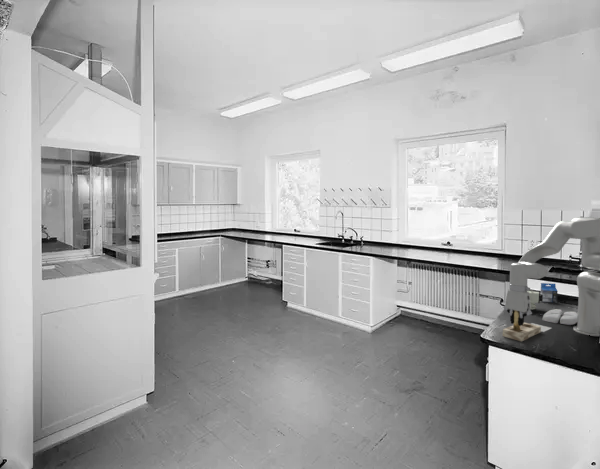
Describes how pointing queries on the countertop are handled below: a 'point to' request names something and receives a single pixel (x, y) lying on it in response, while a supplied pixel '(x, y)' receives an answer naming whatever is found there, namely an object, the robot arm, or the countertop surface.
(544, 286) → the label tape cartridge
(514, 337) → the hole block
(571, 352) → the countertop surface
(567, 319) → the lung model
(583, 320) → the robot arm
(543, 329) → the rubber mat
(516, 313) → the brass peg
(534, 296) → the pneumatic valve
